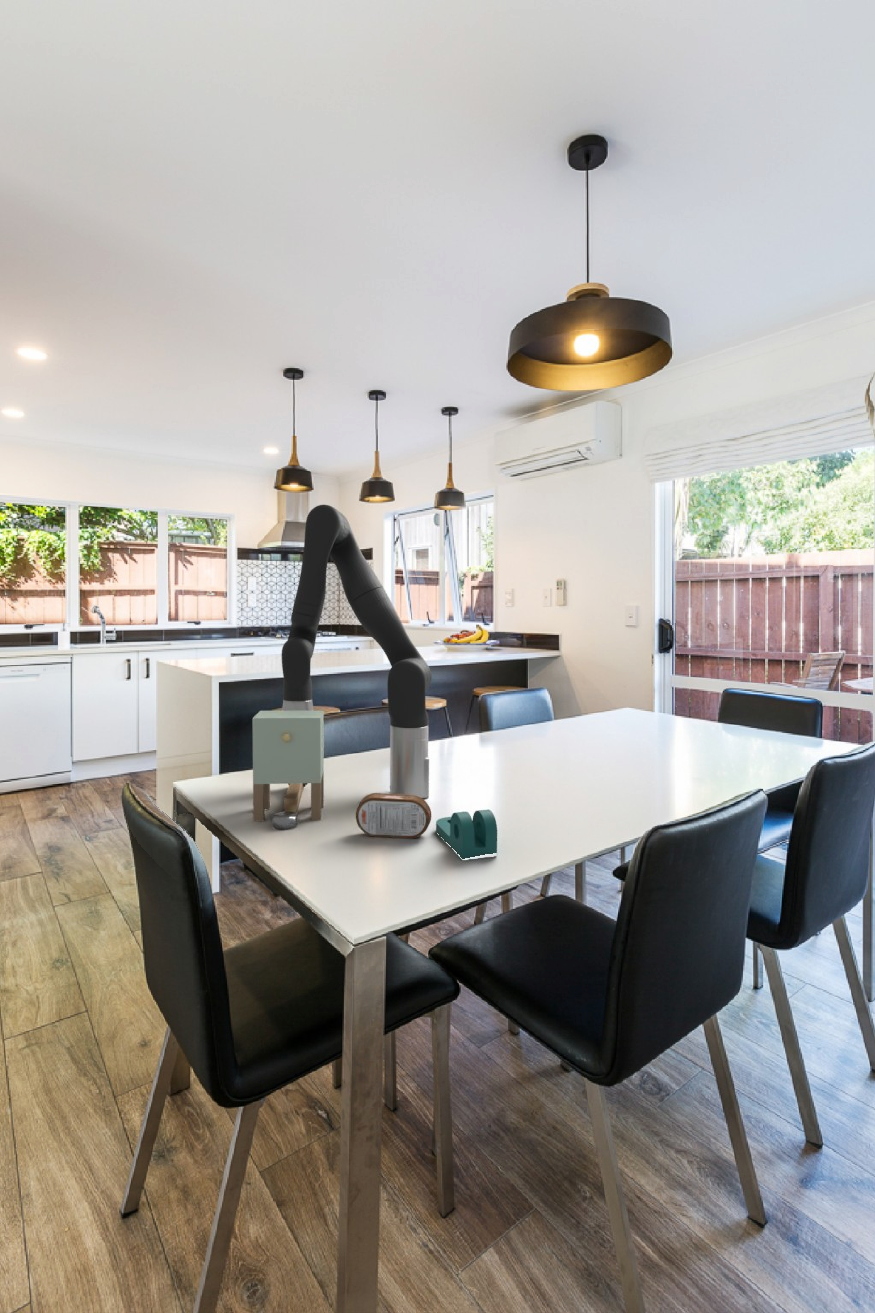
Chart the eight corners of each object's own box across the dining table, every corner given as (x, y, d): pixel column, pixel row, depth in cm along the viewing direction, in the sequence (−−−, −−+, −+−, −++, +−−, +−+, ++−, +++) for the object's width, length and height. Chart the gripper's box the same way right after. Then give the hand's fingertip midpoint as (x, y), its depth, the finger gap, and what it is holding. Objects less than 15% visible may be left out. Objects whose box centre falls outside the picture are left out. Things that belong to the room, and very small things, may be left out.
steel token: (299, 822, 135) (299, 811, 135) (295, 830, 130) (295, 819, 130) (275, 822, 134) (275, 811, 134) (270, 831, 129) (270, 819, 129)
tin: (431, 835, 128) (431, 794, 127) (429, 841, 125) (430, 798, 124) (357, 832, 129) (357, 791, 129) (354, 837, 126) (354, 795, 125)
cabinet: (323, 805, 146) (323, 710, 144) (320, 821, 135) (320, 718, 133) (261, 807, 144) (260, 710, 143) (252, 823, 133) (251, 719, 132)
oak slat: (303, 787, 162) (304, 771, 161) (296, 816, 138) (296, 798, 138) (293, 787, 161) (293, 771, 161) (284, 817, 138) (284, 798, 138)
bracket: (496, 858, 117) (497, 815, 116) (462, 862, 115) (463, 819, 114) (462, 826, 134) (462, 789, 133) (431, 829, 132) (432, 791, 131)
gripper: (326, 715, 162) (326, 781, 163) (271, 715, 160) (271, 783, 162) (325, 720, 155) (325, 790, 156) (267, 720, 153) (267, 791, 154)
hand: (298, 786), depth 159 cm, fingers closed on oak slat, 2 cm apart
